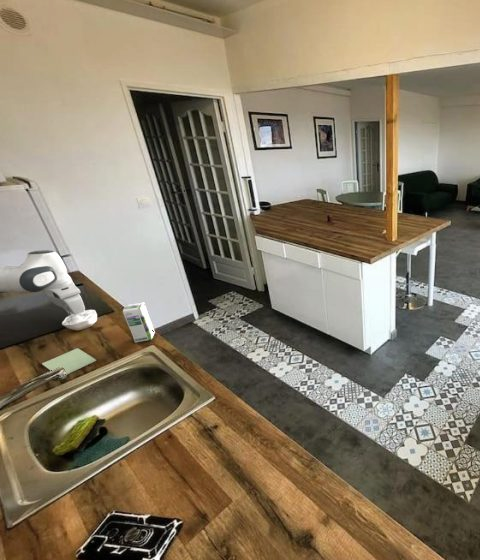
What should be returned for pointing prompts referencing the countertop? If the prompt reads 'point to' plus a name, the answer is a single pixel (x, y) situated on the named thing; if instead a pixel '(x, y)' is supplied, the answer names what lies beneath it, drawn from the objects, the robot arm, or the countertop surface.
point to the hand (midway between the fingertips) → (73, 316)
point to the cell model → (80, 320)
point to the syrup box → (139, 322)
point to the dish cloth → (70, 361)
